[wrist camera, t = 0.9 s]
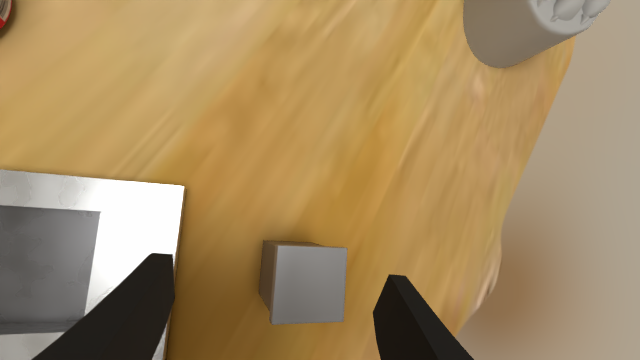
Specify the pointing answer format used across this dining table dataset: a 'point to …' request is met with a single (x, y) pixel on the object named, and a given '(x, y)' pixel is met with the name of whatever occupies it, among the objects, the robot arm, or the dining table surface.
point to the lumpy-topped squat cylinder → (523, 26)
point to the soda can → (4, 11)
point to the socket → (75, 250)
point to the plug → (303, 282)
